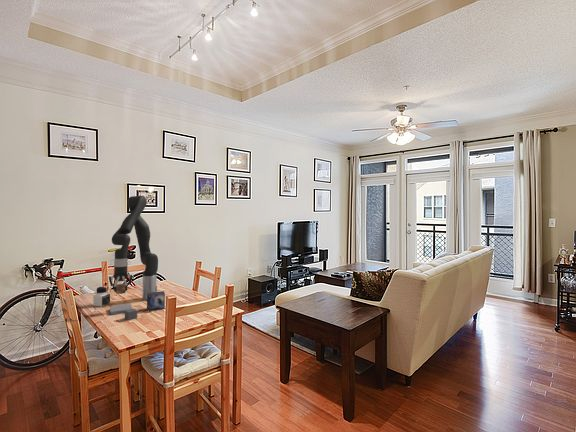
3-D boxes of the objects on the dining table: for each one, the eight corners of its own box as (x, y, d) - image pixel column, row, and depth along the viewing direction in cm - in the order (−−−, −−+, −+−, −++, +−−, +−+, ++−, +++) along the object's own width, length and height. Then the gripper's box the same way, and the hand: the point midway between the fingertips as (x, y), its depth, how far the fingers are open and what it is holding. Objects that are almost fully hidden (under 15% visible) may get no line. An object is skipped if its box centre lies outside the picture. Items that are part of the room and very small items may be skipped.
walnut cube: (124, 291, 206) (124, 283, 206) (125, 293, 201) (125, 285, 201) (115, 292, 203) (116, 284, 203) (116, 294, 199) (116, 286, 199)
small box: (147, 311, 203) (147, 295, 202) (146, 308, 209) (146, 292, 208) (164, 309, 208) (165, 293, 207) (163, 306, 213) (163, 290, 213)
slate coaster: (130, 306, 211) (130, 303, 211) (132, 312, 201) (132, 308, 201) (109, 309, 204) (109, 306, 204) (110, 315, 194) (110, 311, 194)
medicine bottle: (102, 306, 210) (102, 288, 210) (93, 305, 211) (93, 288, 211) (110, 303, 217) (110, 286, 217) (101, 302, 218) (101, 285, 218)
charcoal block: (133, 316, 193) (133, 308, 193) (137, 318, 190) (137, 310, 190) (124, 318, 189) (124, 310, 189) (128, 320, 186) (128, 312, 186)
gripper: (132, 263, 209) (132, 289, 209) (107, 265, 201) (107, 291, 202) (133, 265, 202) (133, 291, 203) (108, 267, 195) (107, 294, 195)
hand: (120, 291), depth 202 cm, fingers closed on walnut cube, 5 cm apart
